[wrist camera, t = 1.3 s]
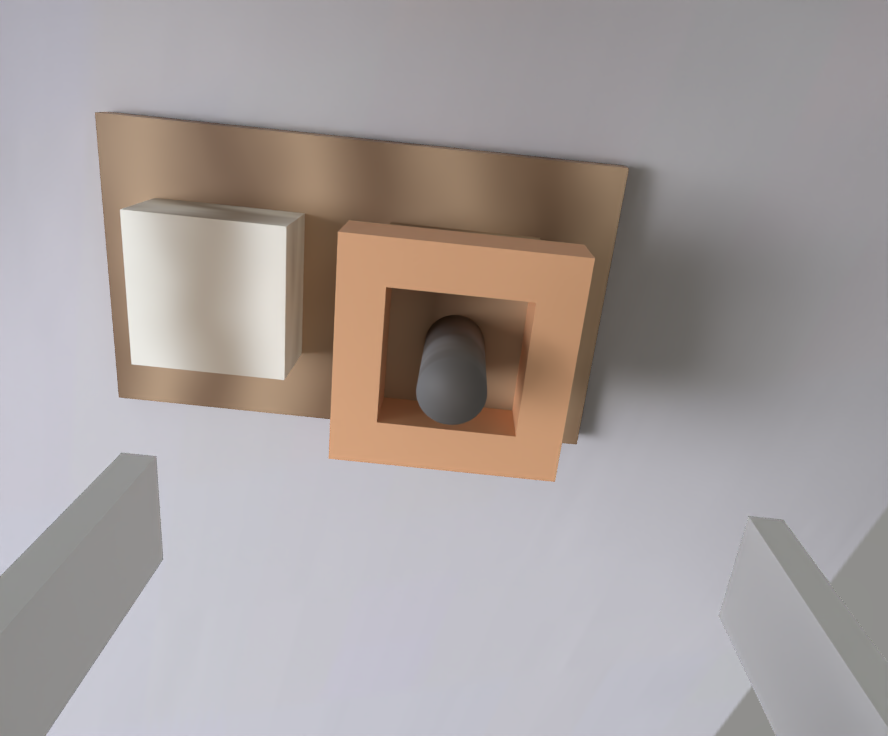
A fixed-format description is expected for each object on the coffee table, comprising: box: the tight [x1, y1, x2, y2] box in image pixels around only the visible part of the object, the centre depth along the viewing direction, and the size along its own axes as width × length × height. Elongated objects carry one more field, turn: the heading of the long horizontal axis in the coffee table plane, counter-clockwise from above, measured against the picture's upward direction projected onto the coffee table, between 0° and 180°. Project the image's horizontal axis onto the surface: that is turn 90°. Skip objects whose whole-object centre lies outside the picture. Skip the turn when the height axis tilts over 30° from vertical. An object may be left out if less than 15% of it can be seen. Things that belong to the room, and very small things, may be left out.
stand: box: [95, 112, 629, 444], centre depth 29 cm, size 24×14×12 cm, turn 84°
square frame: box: [329, 220, 595, 482], centre depth 27 cm, size 9×9×2 cm
